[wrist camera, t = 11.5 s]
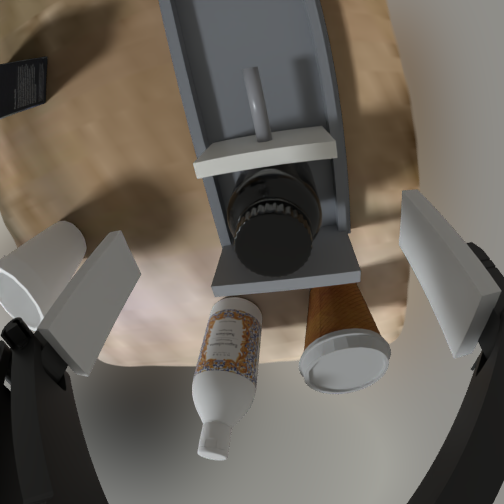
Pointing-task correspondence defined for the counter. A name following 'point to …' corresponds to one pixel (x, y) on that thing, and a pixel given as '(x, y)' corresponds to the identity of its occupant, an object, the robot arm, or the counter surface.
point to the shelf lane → (279, 113)
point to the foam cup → (40, 272)
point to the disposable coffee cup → (342, 342)
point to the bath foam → (226, 372)
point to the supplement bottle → (274, 218)
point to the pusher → (264, 141)
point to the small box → (22, 85)
